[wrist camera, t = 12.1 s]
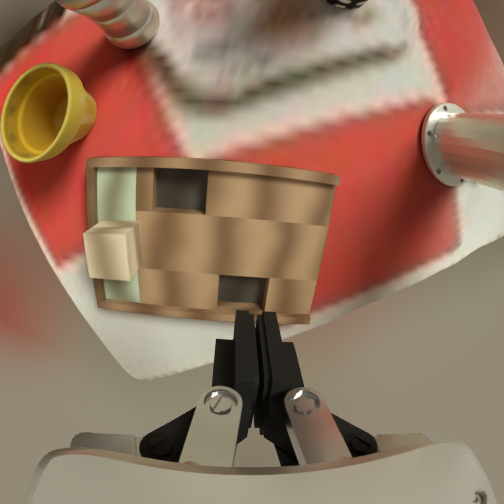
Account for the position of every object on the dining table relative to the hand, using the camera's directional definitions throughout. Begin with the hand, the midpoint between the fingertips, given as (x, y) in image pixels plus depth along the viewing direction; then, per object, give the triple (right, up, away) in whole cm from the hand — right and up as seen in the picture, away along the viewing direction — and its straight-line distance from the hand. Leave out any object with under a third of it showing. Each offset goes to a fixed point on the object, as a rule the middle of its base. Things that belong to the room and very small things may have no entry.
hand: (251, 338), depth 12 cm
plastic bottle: (-14, +30, +12) cm, 35 cm away
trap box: (-6, +5, +22) cm, 23 cm away
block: (-15, +5, +19) cm, 24 cm away
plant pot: (-22, +21, +15) cm, 33 cm away
